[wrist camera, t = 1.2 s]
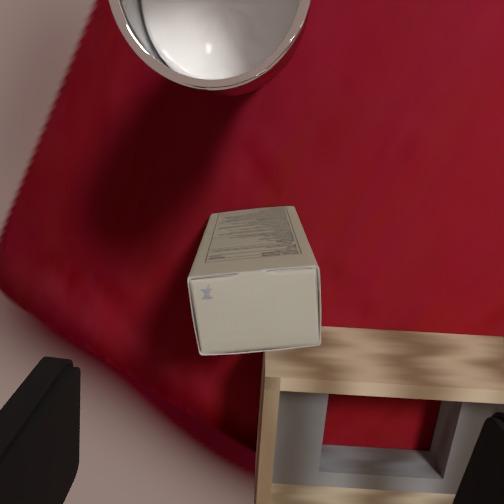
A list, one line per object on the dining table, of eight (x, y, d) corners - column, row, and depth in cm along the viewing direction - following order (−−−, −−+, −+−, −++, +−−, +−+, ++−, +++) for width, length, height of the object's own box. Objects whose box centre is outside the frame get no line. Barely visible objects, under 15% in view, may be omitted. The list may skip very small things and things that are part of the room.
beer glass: (239, -53, 26) (210, -230, 12) (314, 42, 28) (367, -15, 14) (159, 35, 28) (50, -30, 14) (234, 120, 29) (206, 141, 15)
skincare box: (217, 267, 33) (191, 359, 21) (209, 211, 32) (178, 277, 20) (303, 261, 33) (324, 350, 21) (299, 203, 31) (320, 266, 20)
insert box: (521, 337, 34) (582, 395, 28) (481, 476, 39) (525, 554, 32) (264, 322, 34) (265, 376, 28) (255, 463, 39) (253, 537, 32)
